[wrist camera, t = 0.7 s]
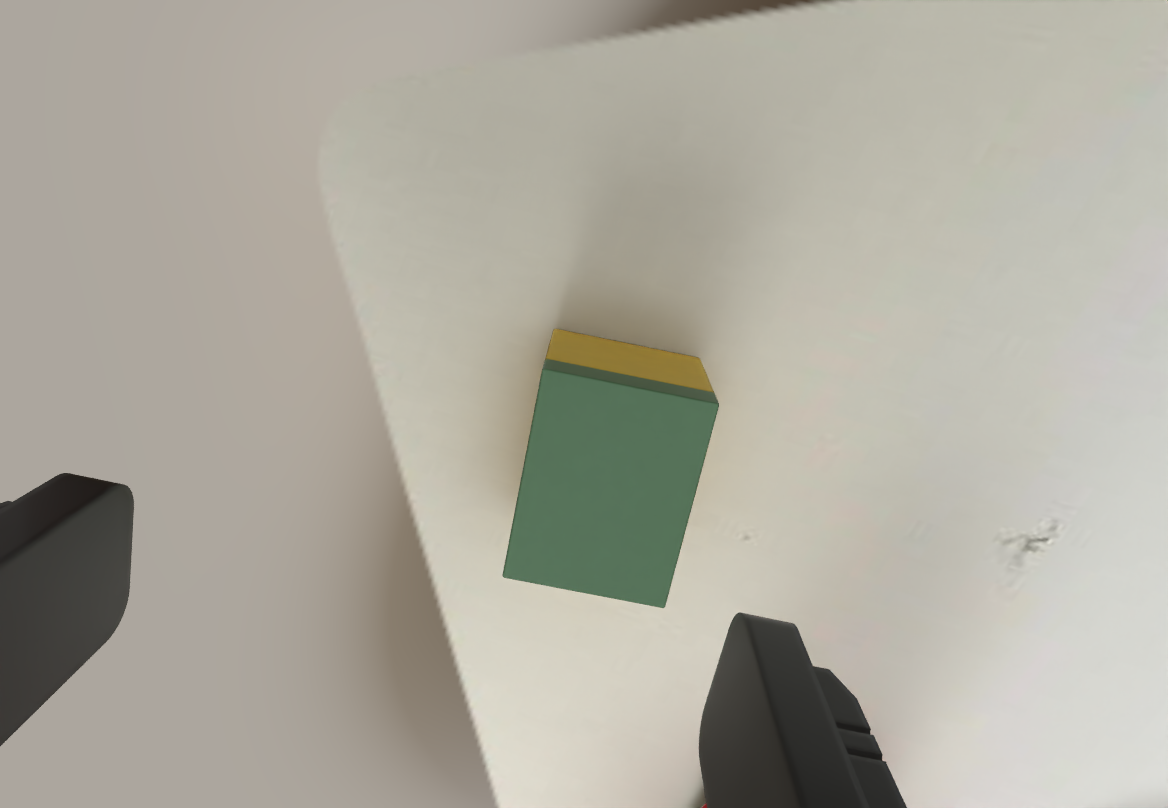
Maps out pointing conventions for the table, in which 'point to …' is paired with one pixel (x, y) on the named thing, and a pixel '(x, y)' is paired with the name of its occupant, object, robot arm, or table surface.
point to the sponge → (610, 468)
